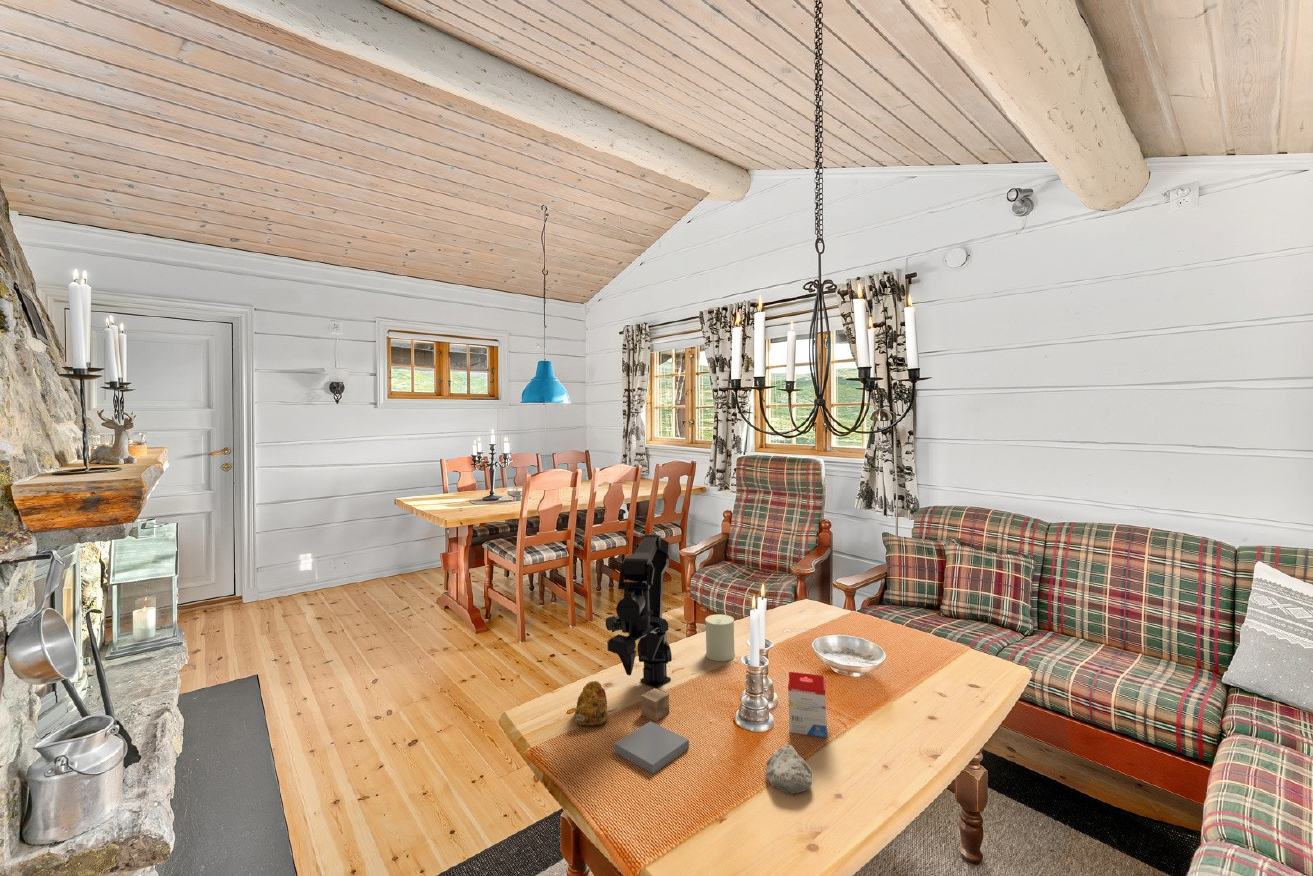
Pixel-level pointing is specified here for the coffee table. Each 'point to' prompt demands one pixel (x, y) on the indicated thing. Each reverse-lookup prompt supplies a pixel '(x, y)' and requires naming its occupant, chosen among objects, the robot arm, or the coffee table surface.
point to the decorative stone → (788, 771)
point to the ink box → (807, 704)
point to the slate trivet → (651, 746)
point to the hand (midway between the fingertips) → (640, 667)
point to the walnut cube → (655, 704)
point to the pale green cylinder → (720, 637)
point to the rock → (591, 705)
